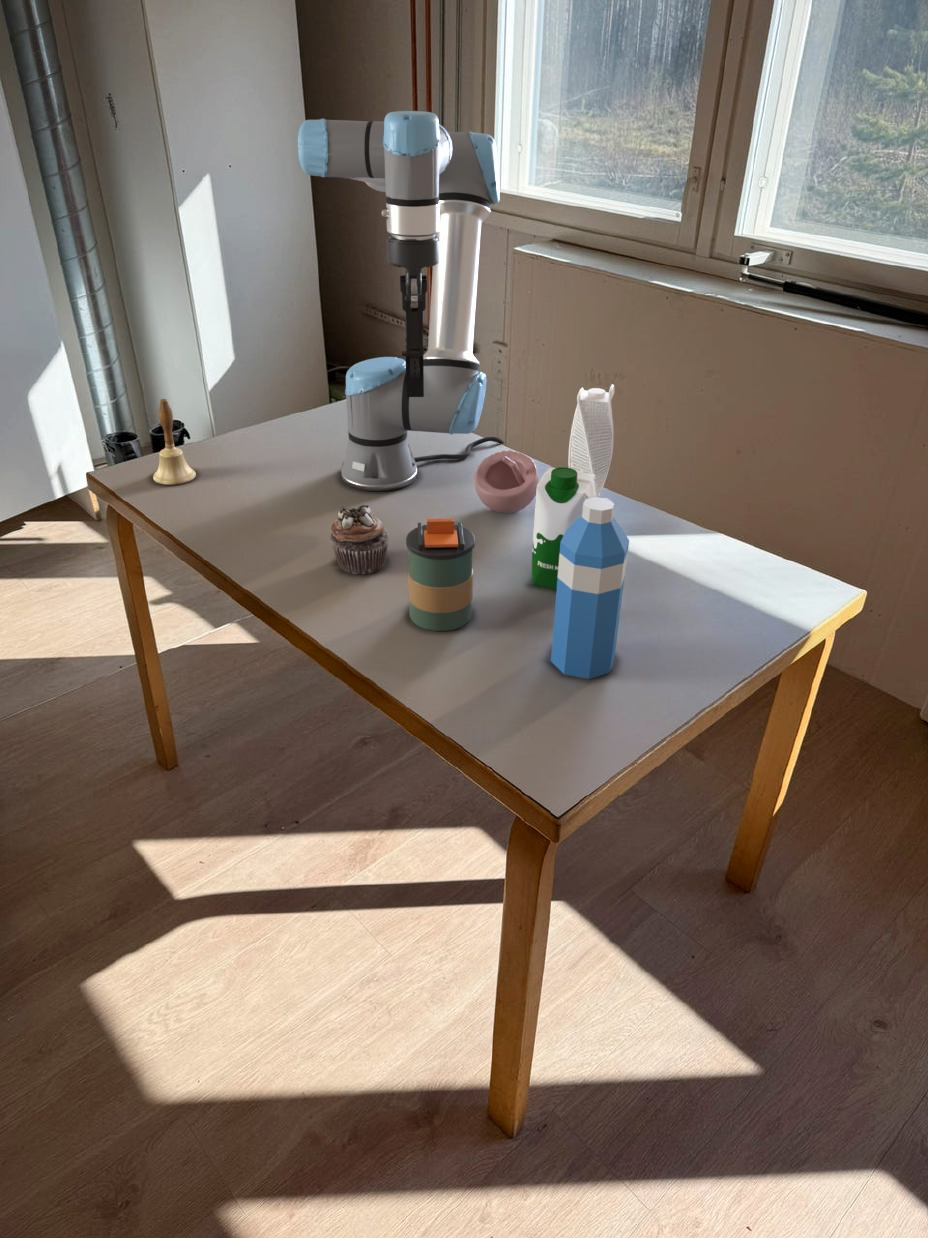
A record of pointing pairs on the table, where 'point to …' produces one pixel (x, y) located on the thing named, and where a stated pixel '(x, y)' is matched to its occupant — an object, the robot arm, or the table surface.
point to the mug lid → (417, 547)
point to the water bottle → (589, 592)
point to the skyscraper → (592, 435)
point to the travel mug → (440, 591)
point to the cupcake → (359, 541)
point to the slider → (440, 533)
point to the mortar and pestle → (506, 481)
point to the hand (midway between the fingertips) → (415, 395)
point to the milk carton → (556, 518)
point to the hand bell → (171, 453)
